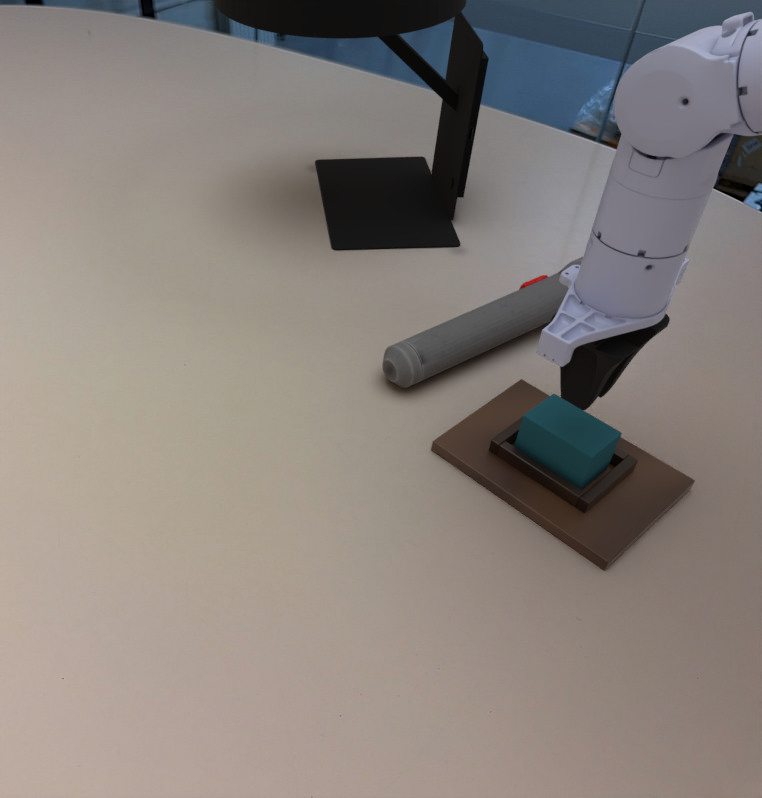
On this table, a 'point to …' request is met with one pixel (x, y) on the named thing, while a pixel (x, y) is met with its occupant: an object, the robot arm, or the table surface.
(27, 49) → the table surface
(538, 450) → the teal block
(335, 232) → the table lamp
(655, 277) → the robot arm
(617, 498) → the brown board with frame
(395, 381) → the flashlight
